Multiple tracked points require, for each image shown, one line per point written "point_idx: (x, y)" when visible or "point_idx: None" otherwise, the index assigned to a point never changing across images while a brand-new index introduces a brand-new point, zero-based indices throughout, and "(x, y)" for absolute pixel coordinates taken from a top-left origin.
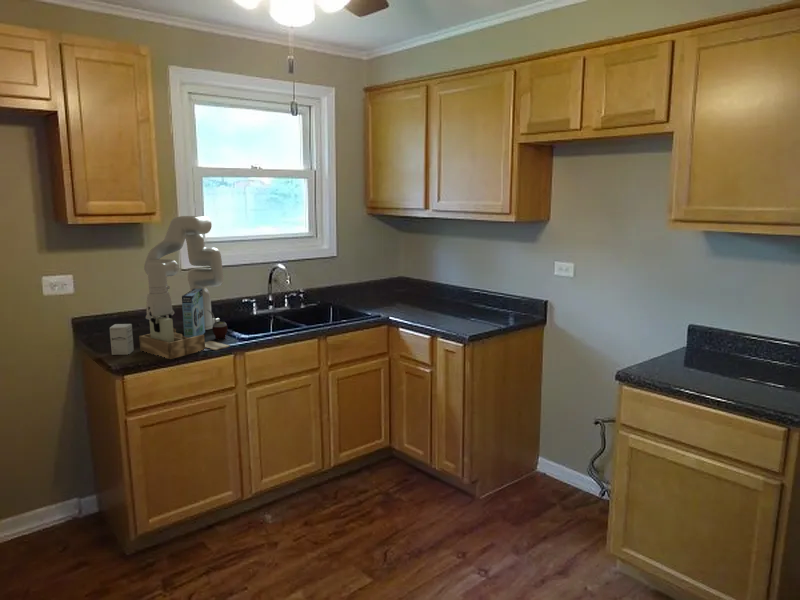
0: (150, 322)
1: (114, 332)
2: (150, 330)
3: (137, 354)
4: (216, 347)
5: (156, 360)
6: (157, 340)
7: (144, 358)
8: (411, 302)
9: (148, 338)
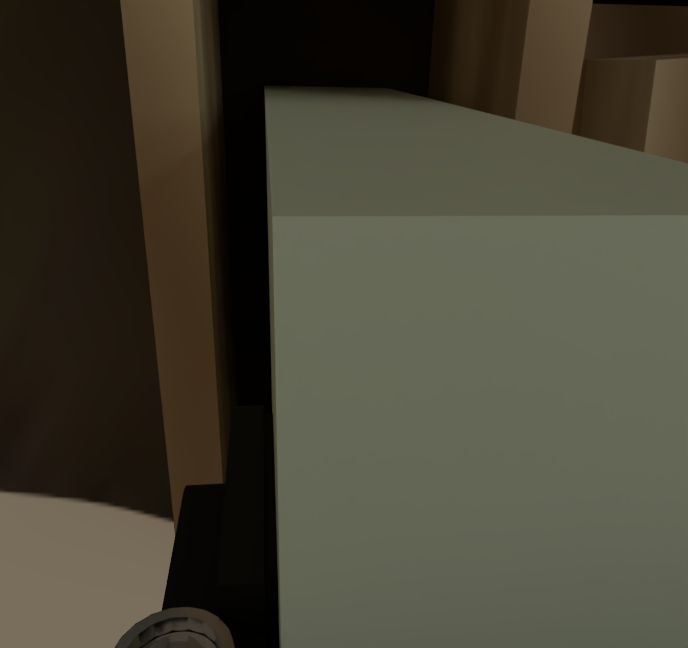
0: (270, 240)
1: None
2: (266, 135)
3: (29, 27)
4: None
5: (85, 492)
6: (176, 493)
7: (14, 314)
8: None
9: (142, 214)
